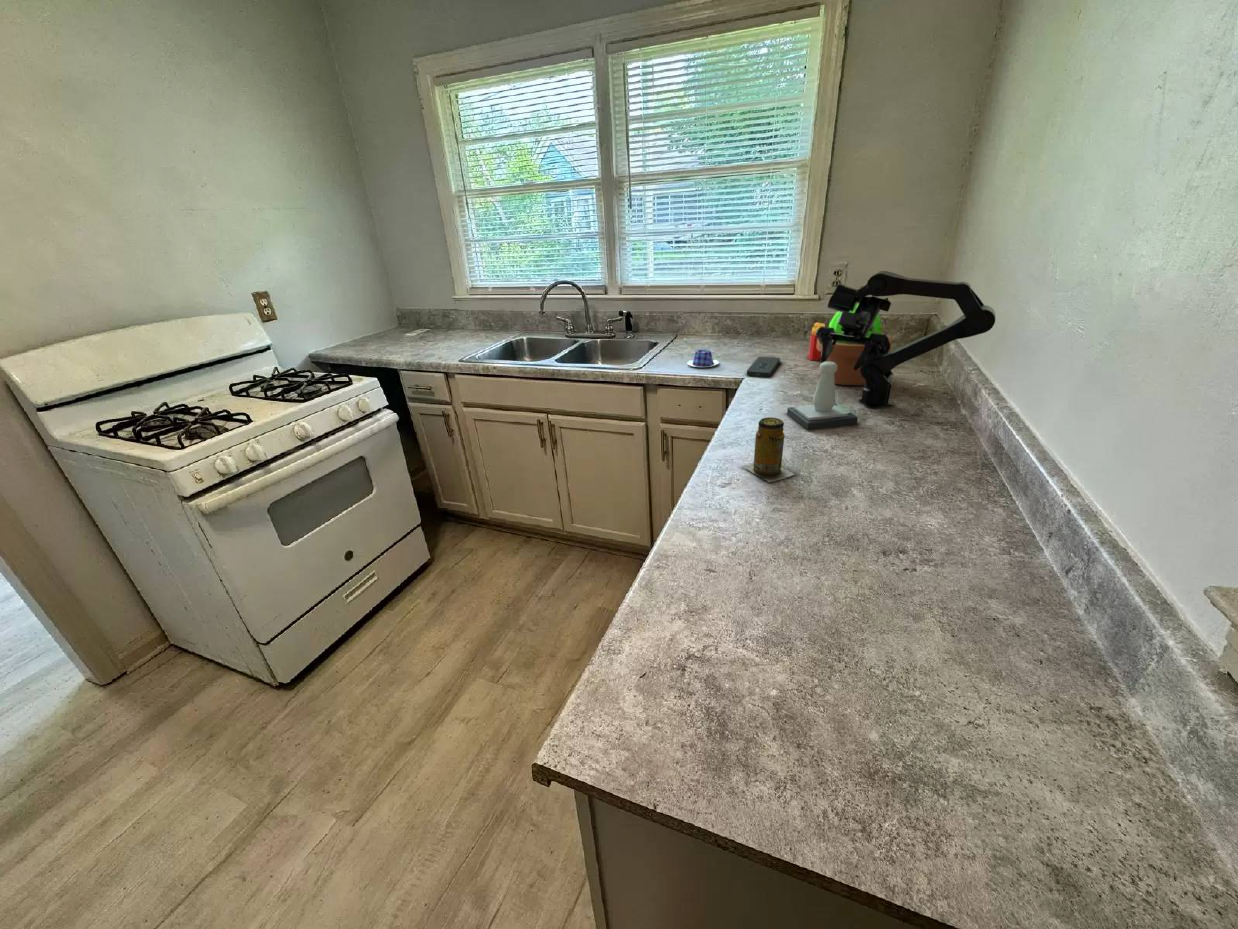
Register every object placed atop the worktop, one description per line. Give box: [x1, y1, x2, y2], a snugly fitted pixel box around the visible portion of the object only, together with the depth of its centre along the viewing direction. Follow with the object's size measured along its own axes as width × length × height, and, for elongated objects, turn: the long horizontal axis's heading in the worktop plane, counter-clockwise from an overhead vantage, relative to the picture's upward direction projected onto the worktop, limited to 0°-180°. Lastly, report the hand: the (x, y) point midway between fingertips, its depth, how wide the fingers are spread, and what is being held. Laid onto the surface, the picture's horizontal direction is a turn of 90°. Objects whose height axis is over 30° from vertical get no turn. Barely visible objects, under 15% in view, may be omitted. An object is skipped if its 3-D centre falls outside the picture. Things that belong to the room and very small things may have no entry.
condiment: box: [744, 416, 796, 483], centre depth 109 cm, size 7×8×12 cm
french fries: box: [808, 322, 826, 361], centre depth 186 cm, size 9×4×13 cm, turn 163°
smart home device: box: [746, 356, 781, 378], centre depth 181 cm, size 8×2×20 cm
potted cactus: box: [817, 303, 893, 386], centre depth 160 cm, size 22×22×25 cm
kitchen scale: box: [786, 402, 859, 431], centre depth 136 cm, size 14×12×3 cm
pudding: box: [687, 349, 720, 368], centre depth 189 cm, size 12×12×5 cm
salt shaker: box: [812, 362, 837, 412], centre depth 132 cm, size 6×6×13 cm
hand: (837, 366), depth 133 cm, fingers open, 9 cm apart
